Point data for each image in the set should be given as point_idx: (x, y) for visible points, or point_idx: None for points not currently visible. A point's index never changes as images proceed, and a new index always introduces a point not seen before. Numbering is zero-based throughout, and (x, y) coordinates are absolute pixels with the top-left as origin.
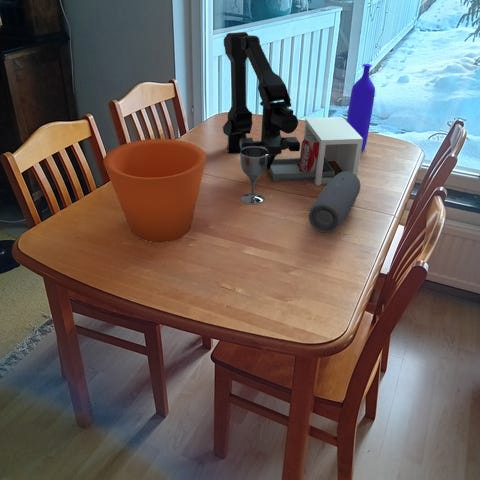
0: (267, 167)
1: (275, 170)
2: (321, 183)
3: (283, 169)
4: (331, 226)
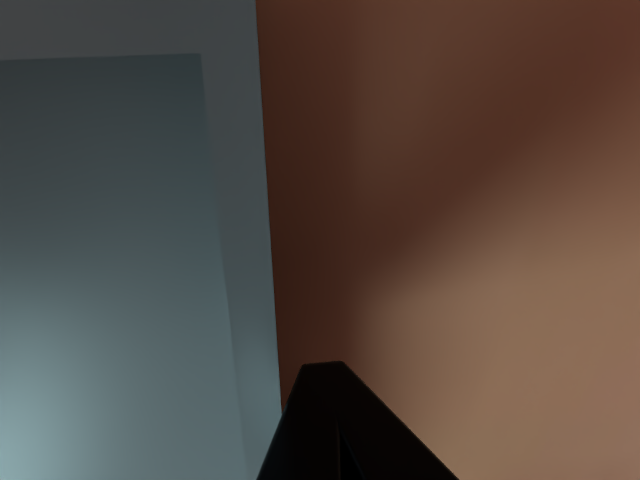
0: (352, 385)
1: (169, 372)
2: None
3: (3, 416)
4: None
